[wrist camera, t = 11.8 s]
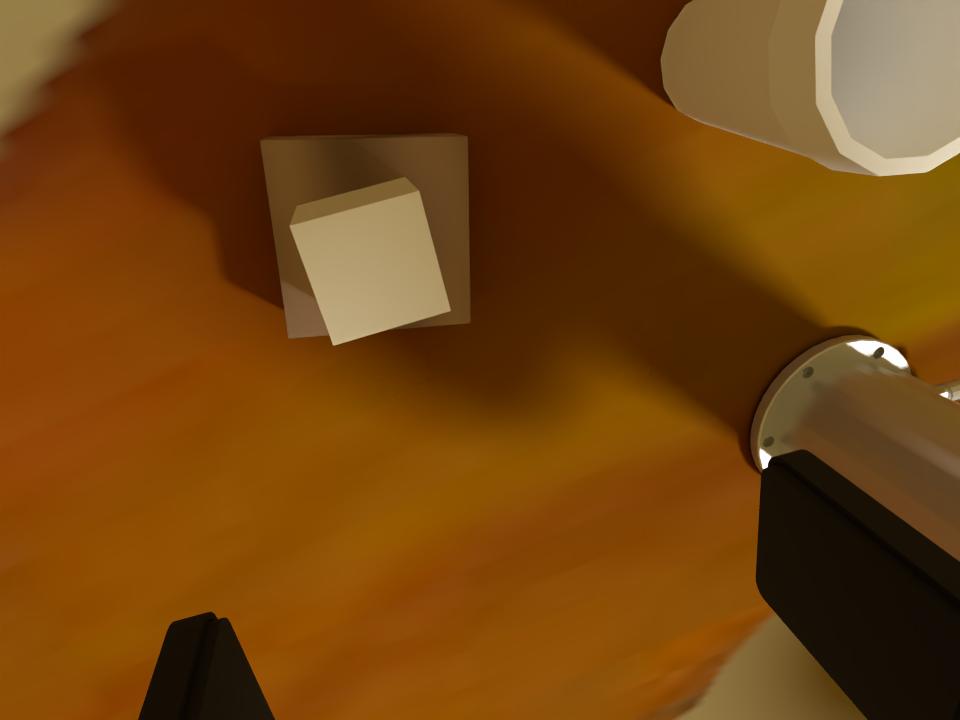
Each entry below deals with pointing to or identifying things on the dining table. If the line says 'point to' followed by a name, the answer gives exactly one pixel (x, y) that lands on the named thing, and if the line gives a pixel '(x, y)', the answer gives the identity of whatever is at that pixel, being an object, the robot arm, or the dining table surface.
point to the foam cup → (824, 78)
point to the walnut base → (359, 164)
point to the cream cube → (370, 259)
